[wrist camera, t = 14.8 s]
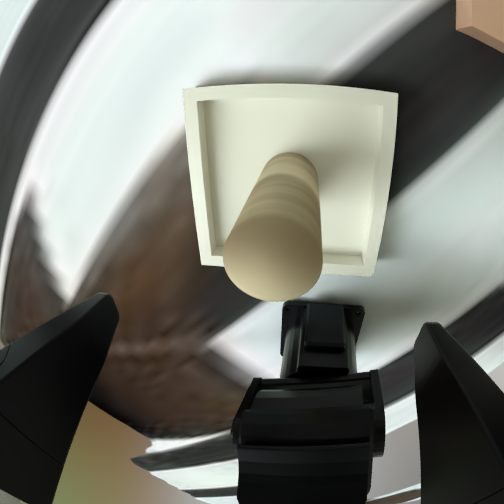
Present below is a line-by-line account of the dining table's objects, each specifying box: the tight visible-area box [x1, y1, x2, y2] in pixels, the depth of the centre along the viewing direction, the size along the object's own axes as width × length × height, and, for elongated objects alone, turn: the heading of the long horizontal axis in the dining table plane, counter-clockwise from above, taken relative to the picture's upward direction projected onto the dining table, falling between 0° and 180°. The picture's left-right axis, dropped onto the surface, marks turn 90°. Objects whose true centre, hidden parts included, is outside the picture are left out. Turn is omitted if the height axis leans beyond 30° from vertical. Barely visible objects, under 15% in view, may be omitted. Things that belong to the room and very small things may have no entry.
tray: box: [183, 84, 398, 277], centre depth 17 cm, size 12×12×2 cm
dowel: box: [223, 153, 323, 302], centre depth 14 cm, size 3×3×9 cm
